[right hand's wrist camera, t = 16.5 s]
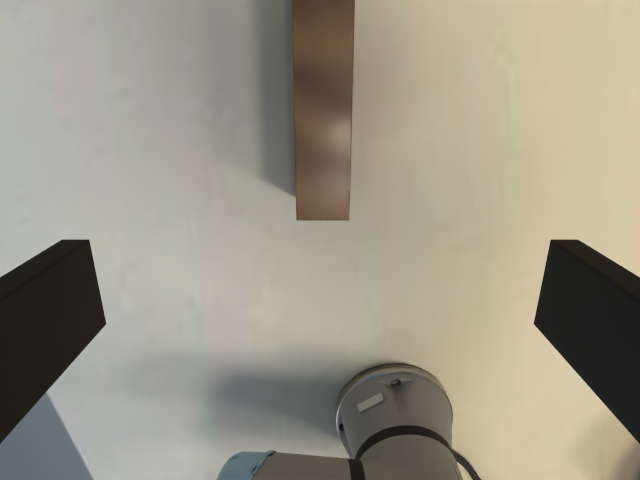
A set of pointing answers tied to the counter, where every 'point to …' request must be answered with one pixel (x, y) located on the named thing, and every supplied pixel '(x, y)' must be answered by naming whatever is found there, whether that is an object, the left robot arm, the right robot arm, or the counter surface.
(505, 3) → the counter surface
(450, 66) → the counter surface
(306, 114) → the post
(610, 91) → the counter surface
